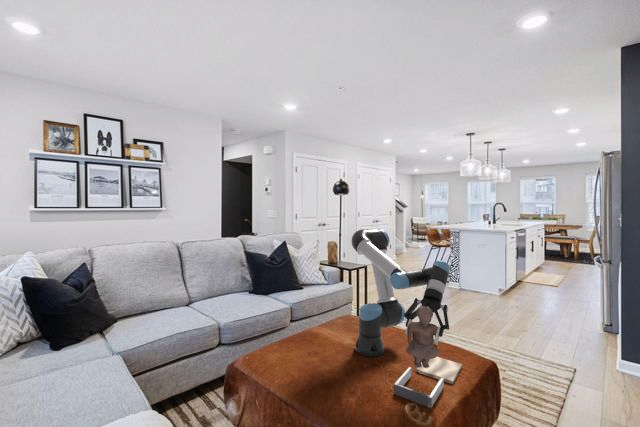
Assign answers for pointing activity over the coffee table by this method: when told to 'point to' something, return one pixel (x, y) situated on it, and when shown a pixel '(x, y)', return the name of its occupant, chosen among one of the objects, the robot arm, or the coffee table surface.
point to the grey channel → (416, 395)
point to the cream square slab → (441, 369)
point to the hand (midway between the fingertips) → (420, 338)
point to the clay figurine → (422, 338)
